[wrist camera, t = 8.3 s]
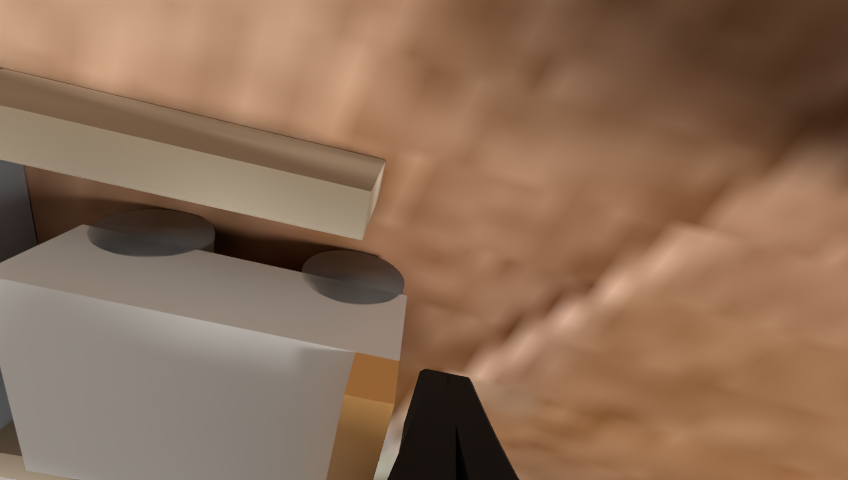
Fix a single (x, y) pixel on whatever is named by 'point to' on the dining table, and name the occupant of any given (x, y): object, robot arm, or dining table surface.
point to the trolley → (196, 356)
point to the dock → (164, 174)
